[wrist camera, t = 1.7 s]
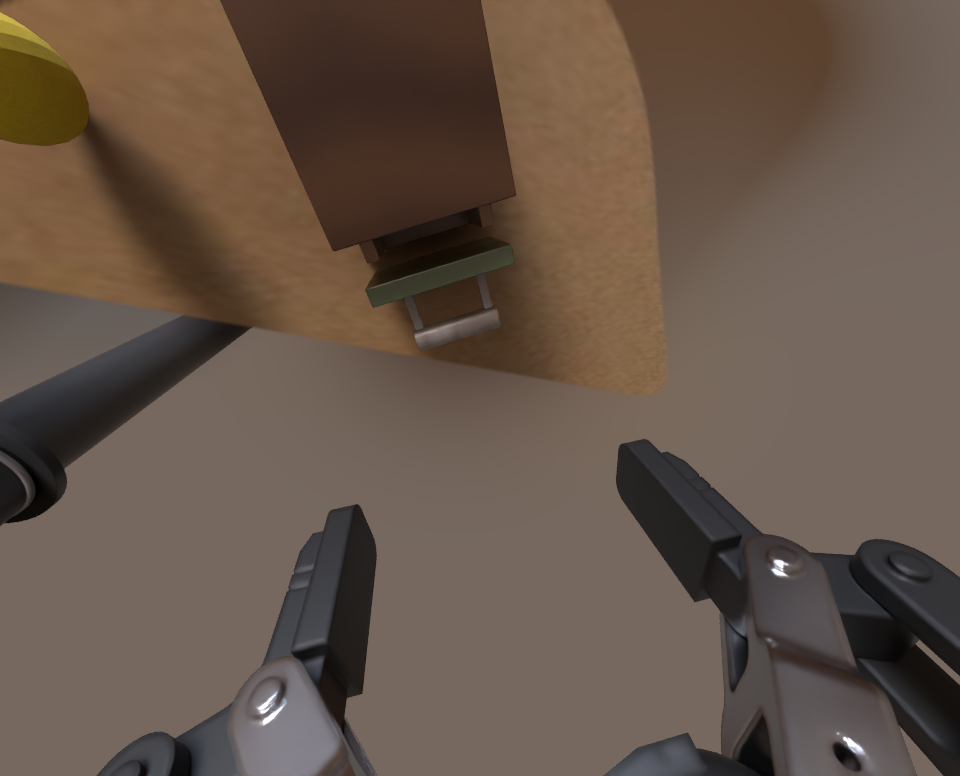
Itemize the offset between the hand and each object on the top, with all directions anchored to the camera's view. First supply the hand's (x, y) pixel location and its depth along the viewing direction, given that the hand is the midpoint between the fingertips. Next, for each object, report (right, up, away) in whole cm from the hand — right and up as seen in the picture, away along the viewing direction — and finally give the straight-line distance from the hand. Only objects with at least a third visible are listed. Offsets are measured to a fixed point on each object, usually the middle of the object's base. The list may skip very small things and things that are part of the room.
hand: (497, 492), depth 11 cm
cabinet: (-6, +21, +13) cm, 25 cm away
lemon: (-25, +21, +10) cm, 34 cm away
